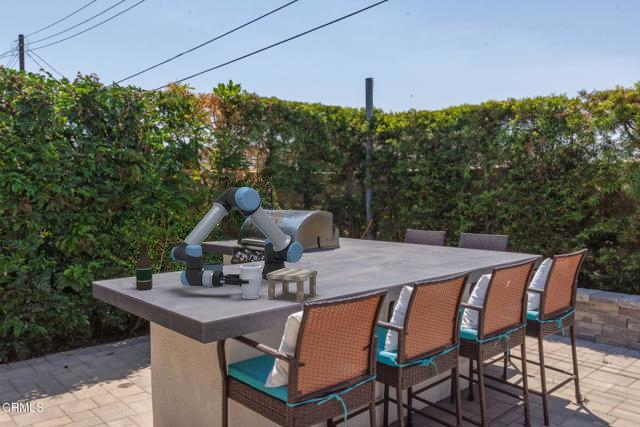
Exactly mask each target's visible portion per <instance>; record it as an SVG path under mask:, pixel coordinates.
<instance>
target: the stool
mask: <svg viewBox="0 0 640 427" xmlns="http://www.w3.org/2000/svg"><path fill="white" fill-rule="evenodd" d="M317 275H318V270H316V269H315V270H314V269H300V268H287V267H286V268H283V269H280V270H277V271H274V272H271V273H268V274H267V278H268V279H267V300H269V301H272V300H273V301H274V300H275V299H276V280H275V279H278V280H281V293H282V294H284V295H285V294H286V295H287V294H289V292H290V291H289V290H290V281H295V282H296V303H302V304H303V303H304V301H305V300H304V298H305V296H304V294H305V291H304V288H305V286H304V283H305V282H304V281H305V280H309V286H308V287H309V295H308V296H309V297H315V296H317Z"/></svg>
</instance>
